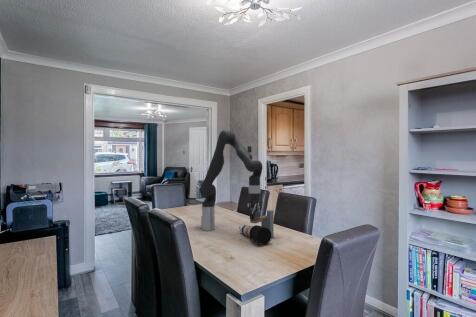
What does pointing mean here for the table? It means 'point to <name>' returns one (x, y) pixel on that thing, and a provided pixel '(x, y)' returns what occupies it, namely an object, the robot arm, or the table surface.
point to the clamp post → (269, 222)
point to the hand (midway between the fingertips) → (254, 218)
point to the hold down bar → (257, 217)
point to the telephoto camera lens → (256, 233)
